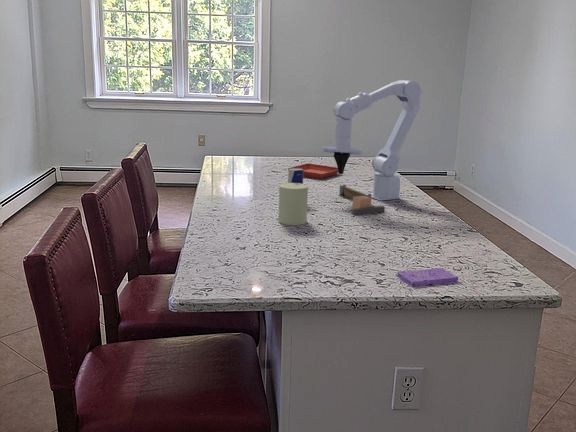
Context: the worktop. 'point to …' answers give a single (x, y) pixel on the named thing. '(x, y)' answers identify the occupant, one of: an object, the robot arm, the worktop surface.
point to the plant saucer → (317, 170)
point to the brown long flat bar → (352, 192)
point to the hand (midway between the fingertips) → (341, 173)
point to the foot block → (361, 202)
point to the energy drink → (295, 175)
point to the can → (293, 203)
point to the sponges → (427, 276)
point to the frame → (346, 196)
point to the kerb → (368, 210)
